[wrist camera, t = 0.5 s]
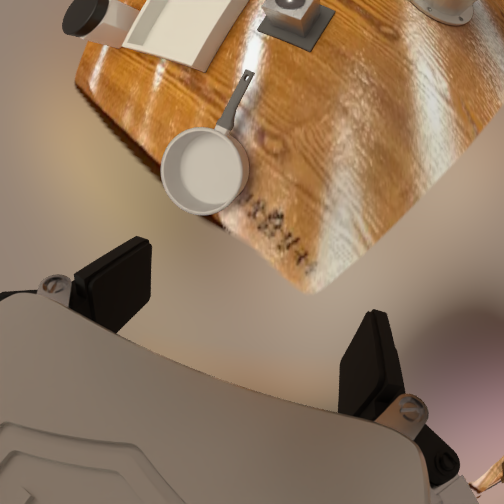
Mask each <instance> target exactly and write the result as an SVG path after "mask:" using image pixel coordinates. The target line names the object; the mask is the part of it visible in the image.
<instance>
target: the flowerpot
mask: <svg viewBox="0 0 504 504" xmlns="http://www.w3.org/2000/svg"><path fill="white" fill-rule="evenodd" d="M502 468H503V478H502V479H501V481H502V483H504V462H503V463H502Z"/></svg>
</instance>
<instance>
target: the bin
mask: <svg viewBox="0 0 504 504" xmlns="http://www.w3.org/2000/svg"><path fill="white" fill-rule="evenodd" d="M248 1H249V0H147V1H146V3H145V4H144V6H143V8H142V9H141V11H140V13H139V14H138V16H137V18H136V20H135V21H134V23H133V25H132V27H131V29H130V31H129V32H128V34H127V36H126V38H125V40H124V42H123V44H122V47H125V48H128V49H132V50H135V51H137V52H141V53H145V54H149V55H152V56H156V57H159V58H163V59H166V60H169V61H172V62H176V63H179V64H182V65H185V66H188V67H191V68H194V69H196V70H199V71H202V72H206V71H207V69H208V67H209V65H210V63H211V61H212V60H213V58H214V56H215V54H216V52H217V51H218V49H219V47H220V45H221V44H222V42H223V40H224V39H225V37H226V35H227V34H228V32H229V30H230V29H231V27H232V26H233V24H234V22H235V21H236V19H237V18H238V16H239V15H240V13H241V12H242V10H243V9H244V7H245V6H246V4H247V3H248Z"/></svg>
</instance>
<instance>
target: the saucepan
mask: <svg viewBox="0 0 504 504" xmlns="http://www.w3.org/2000/svg"><path fill="white" fill-rule="evenodd" d="M254 74H255V73H254V72H251V71H249V70H245V72H244V74H243V76H242V78H241V79H240V81H239V83H238V85H237V87H236V89H235V91H234V93H233V95H232V97H231V99H230V101H229V103H228V105H227V107H226V108H225V110H224V112H223V114H222V116H221V118H220V119H219V120H218V121H217V123H216V124H217V125H216V127H215V129H211V128H205V127H196V128H191V129H188V130H185V131H183V132H182V133H180V134H178V135H177V136H176V137H175V138H174V139H173V140H172V141H171V142H170V143H169V145H168V146H167V148H166V150H165V152H164V154H163V158H162V162H161V179H162V183H163V186H164V189H165V191H166V193H167V194H168V196H169V198H170V199H171V200H172V201H173V202H174V203H175V204H176V205H177V206H178V207H179V208H181V209H182V210H185V211H186V212H188V213H191V214H195V215H210V214H214V213H217V212H219V211H221V210H223V209H224V208H226V207H227V206H228V205H229V204H230V203H231V202H232V201H233V200H234V198H236V197H237V196H238V195H239V194H240V193H241V192H242V190H243V189H244V187H245V185H246V183H247V180H248V176H249V161H248V157H247V154H246V152H245V150H244V148H243V147H242V145H241V144H240V143H239V142H238V141H237V140H236V139H235V138H234V137H232V136H230V135H229V133H230V131H231V130H232V128H233V126H234V118H235V113H236V109H237V107H238V105H239V103H240V101H241V99H242V97H243V95H244V93H245V91H246V89H247V87H248V85H249V83H250V82H251V80H252V78H253V76H254ZM247 76H249V78H248V79H247V80H246V77H247ZM245 80H246V81H245Z"/></svg>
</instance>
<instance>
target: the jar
mask: <svg viewBox="0 0 504 504" xmlns="http://www.w3.org/2000/svg"><path fill="white" fill-rule="evenodd" d="M139 13H140V11H139V10H137V9H135V8H133V7H131V6H129V5H126V4H124V3H122V2H120V1H118V0H74V1H73V3H72V4H71V5H70V6H69V8H68V10H67V12H66V14H65V16H64V19H63V23H62V29H63V31H64V33H65V34H67V35H72V36H76V37H80V38H82V39H83V40H87V41H92V42H96V43H99V44H103V45H107V46H111V47H114V48H118V49H119V48H121V47H122V44H123V42H124V40H125V38H126V36H127V34H128V32H129V31H130V29H131V27H132V25H133V23H134V21H135V20H136V18H137V16H138V14H139Z"/></svg>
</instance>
